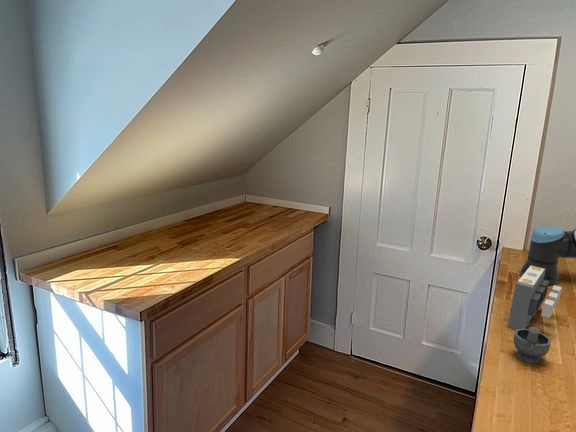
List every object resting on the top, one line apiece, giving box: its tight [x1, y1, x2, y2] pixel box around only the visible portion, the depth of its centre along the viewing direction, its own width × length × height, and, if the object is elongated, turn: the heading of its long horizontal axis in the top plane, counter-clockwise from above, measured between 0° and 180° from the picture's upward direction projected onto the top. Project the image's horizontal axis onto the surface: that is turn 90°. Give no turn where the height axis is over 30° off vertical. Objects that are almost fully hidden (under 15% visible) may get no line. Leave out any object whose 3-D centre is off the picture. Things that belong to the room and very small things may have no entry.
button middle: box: [547, 291, 558, 310], centre depth 149 cm, size 4×2×4 cm, turn 141°
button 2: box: [551, 285, 563, 303], centre depth 155 cm, size 4×2×4 cm, turn 141°
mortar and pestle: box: [513, 326, 552, 364], centre depth 128 cm, size 11×9×12 cm
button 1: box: [541, 298, 555, 319], centre depth 143 cm, size 4×2×4 cm, turn 141°
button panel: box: [507, 265, 550, 330], centre depth 153 cm, size 24×7×16 cm, turn 141°
